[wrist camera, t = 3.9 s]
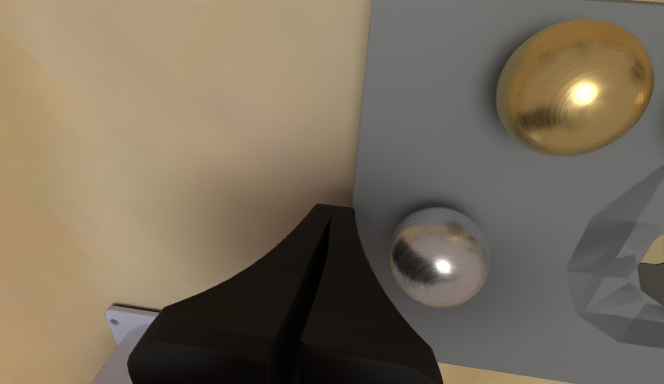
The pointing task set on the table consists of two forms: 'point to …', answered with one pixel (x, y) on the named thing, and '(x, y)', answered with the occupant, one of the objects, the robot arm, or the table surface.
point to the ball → (439, 257)
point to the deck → (515, 194)
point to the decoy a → (575, 87)
